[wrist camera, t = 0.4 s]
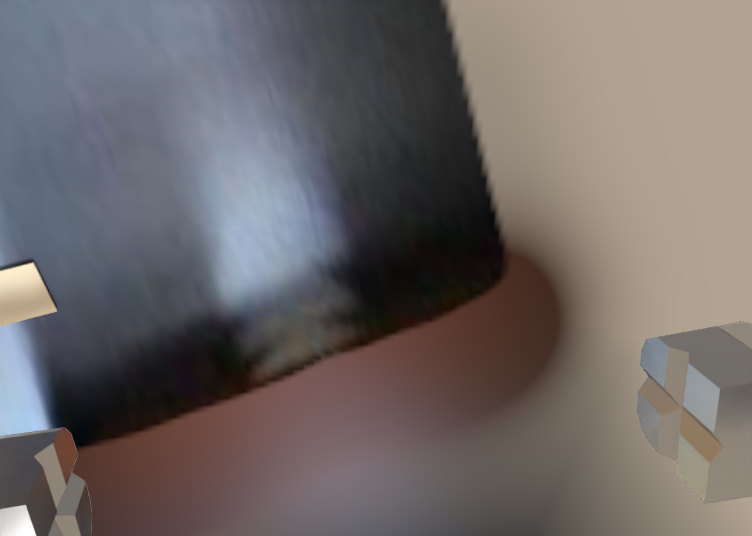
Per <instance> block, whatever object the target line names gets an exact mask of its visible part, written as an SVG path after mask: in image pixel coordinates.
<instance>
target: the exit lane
mask: <svg viewBox="0 0 752 536" xmlns="http://www.w3.org/2000/svg"><path fill="white" fill-rule="evenodd" d="M57 310H58V309H57V307H56V305H55V303H54V301H53V299H52V297H51V295H50V293H49V291H48V289H47V287H46V285H45V283H44V281H43V279H42V277H41V275H40V273H39V271H38V269H37V267H36V265H35V263H34V262H31V263H27V264H23V265H19V266H15V267H11V268H7V269H3V270H0V326H3V325H7V324H11V323H14V322H18V321H22V320H26V319H30V318H33V317H37V316H41V315H45V314H48V313H52V312H56V311H57Z"/></svg>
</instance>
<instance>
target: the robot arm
mask: <svg viewBox="0 0 752 536" xmlns="http://www.w3.org/2000/svg"><path fill="white" fill-rule="evenodd" d="M640 366H641V367H642V368H643V370H644V371H645V372H646V374H647V375H648V376H649V377H648V378H647V380H646V381H645V382H644V384H643V385H642V386H641V388H640V389H639V390H638V398H637V413H638V417H639V421H640V426H641V429H642V431H643V433H644V435H645V437H646V438H647V441H648V442H649V443H650V445H651V446H652V447H653V448H654V449H655V450H656V451H657V452H658V453H659V454H662V455H664V456H666V457H669V458H671V459H673V460H676V461H677V465H676V473H677V475H678V476H679V477H680V478H681V479H682V480H683V481H684V482H685V483H686V484H687V486H688V487H689V488H690V489H691V490H692V491H693V492H694V493H695V494H696V495H697V496H698V497H699V498H700V500H701V501H702V502H703V503H704V504H708V503H714V502H720V501H726V500H733V499H739V498H745V497H751V496H752V323H747V322H735V323H730V324H725V325H720V326H715V327H710V328H705V329H699V330H694V331H688V332H683V333H677V334H671V335H666V336H660V337H655V338H651V339H647V340H646V341H645V343H644V346H643V348H642V351H641V361H640ZM77 456H78V454H77V451H76V447H75V444H74V441H73V438H72V435H71V433H70V432H69V431H68V430H67V429H66V428H65V427H64V428H56V429H49V430H42V431H34V432H27V433H19V434H12V435H5V436H0V536H91V525H92V511H91V503H90V497H89V493H88V489H87V486H86V482H85V481H83V480H82V479H80V478H79V477H78V476H76V475H75V474H73V473H72V469H73V467H74V464H75V461H76V458H77Z"/></svg>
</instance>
